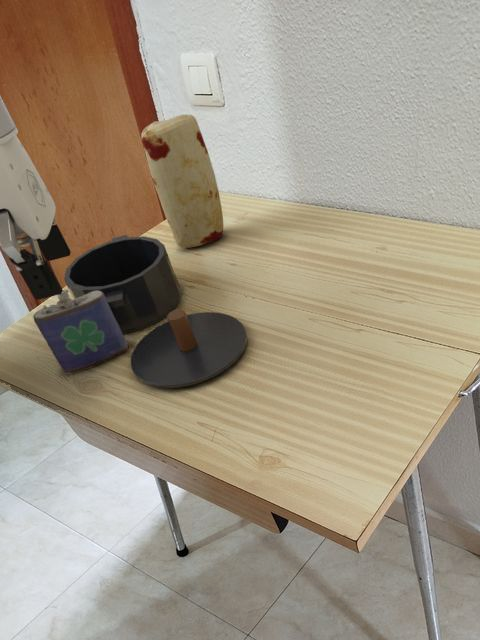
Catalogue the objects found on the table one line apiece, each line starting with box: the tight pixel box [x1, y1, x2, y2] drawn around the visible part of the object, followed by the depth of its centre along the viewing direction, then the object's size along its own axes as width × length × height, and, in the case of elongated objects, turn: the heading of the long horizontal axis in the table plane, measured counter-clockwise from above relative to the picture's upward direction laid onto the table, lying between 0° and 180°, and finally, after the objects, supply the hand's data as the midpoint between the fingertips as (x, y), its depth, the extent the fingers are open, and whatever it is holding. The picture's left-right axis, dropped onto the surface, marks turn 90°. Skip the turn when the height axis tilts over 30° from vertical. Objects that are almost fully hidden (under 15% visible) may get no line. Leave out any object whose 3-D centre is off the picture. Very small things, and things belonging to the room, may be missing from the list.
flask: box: [32, 289, 129, 375], centre depth 77 cm, size 9×3×11 cm, turn 114°
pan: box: [63, 234, 182, 335], centre depth 87 cm, size 15×20×8 cm
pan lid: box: [130, 308, 248, 389], centre depth 76 cm, size 16×16×6 cm
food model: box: [140, 114, 225, 249], centre depth 95 cm, size 10×7×20 cm
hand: (54, 275), depth 72 cm, fingers open, 9 cm apart
